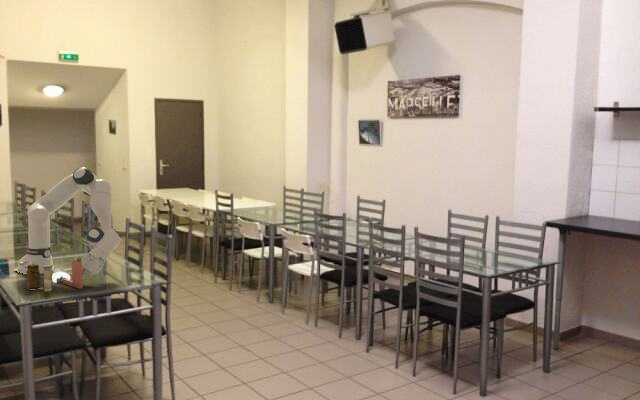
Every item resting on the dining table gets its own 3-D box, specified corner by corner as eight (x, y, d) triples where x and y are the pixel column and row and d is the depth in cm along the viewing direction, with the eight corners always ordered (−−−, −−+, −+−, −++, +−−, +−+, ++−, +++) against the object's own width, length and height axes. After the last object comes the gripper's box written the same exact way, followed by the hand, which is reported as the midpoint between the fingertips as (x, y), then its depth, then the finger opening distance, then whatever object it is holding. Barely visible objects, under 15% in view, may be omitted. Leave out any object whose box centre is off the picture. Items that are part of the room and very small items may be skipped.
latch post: (45, 289, 293) (44, 264, 292) (53, 289, 294) (52, 264, 292) (43, 291, 290) (42, 266, 288) (51, 291, 290) (50, 266, 289)
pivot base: (54, 282, 306) (54, 277, 306) (61, 280, 310) (61, 275, 310) (61, 284, 304) (61, 278, 304) (68, 281, 309) (68, 276, 308)
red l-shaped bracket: (63, 283, 304) (62, 254, 303) (66, 282, 306) (65, 254, 304) (79, 288, 295) (78, 258, 293) (82, 287, 297) (82, 258, 295)
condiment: (38, 285, 300) (37, 263, 299) (44, 288, 294) (44, 265, 293) (23, 288, 295) (22, 265, 293) (29, 291, 289) (29, 268, 288)
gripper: (110, 263, 298) (92, 285, 293) (95, 255, 313) (78, 276, 308) (101, 256, 294) (82, 278, 289) (86, 249, 309) (69, 269, 305)
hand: (80, 277), depth 299 cm, fingers closed
